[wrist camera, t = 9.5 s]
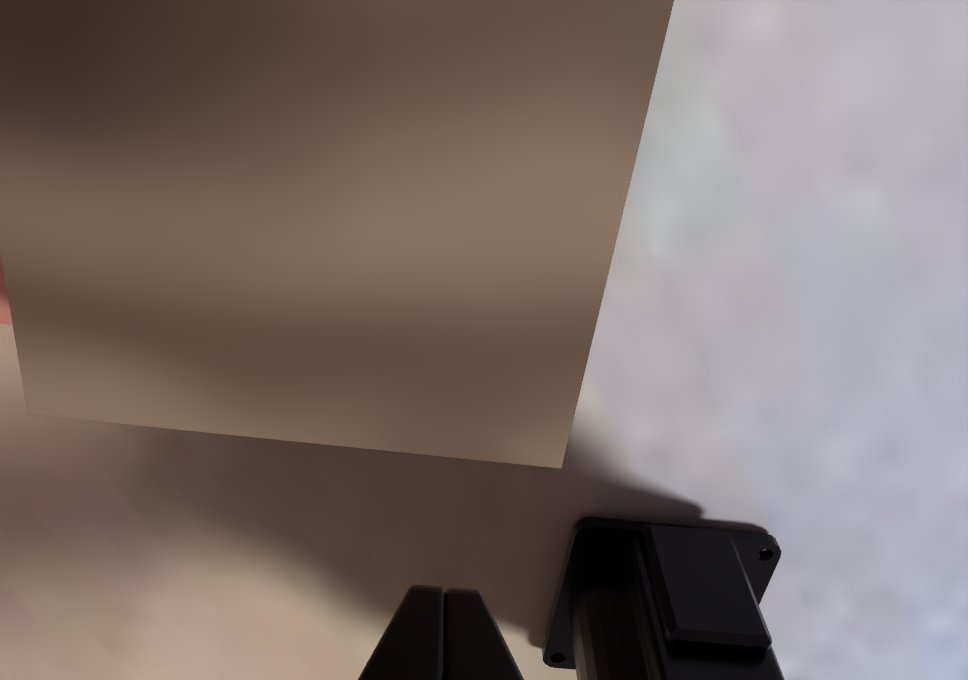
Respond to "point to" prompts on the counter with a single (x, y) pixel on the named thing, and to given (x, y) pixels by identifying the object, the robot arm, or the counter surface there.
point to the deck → (319, 212)
